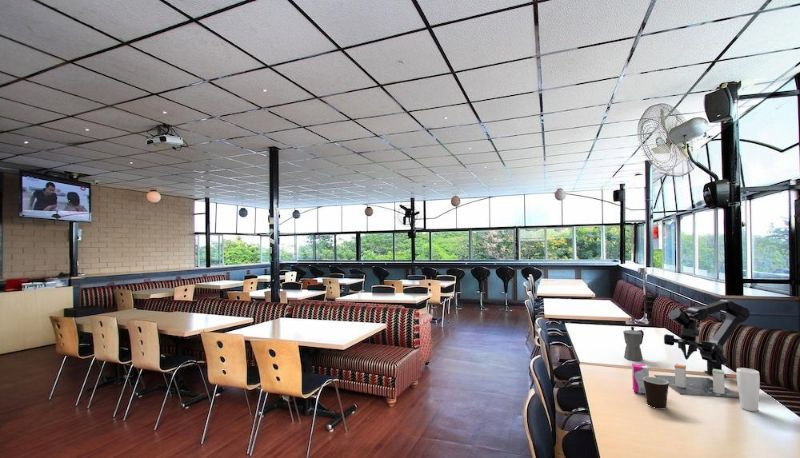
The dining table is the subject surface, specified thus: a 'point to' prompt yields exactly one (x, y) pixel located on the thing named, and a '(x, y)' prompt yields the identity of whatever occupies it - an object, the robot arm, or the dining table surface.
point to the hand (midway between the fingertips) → (686, 359)
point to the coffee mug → (656, 391)
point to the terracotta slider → (680, 375)
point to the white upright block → (718, 381)
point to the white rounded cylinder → (748, 388)
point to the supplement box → (639, 377)
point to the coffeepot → (633, 344)
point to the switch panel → (697, 387)
